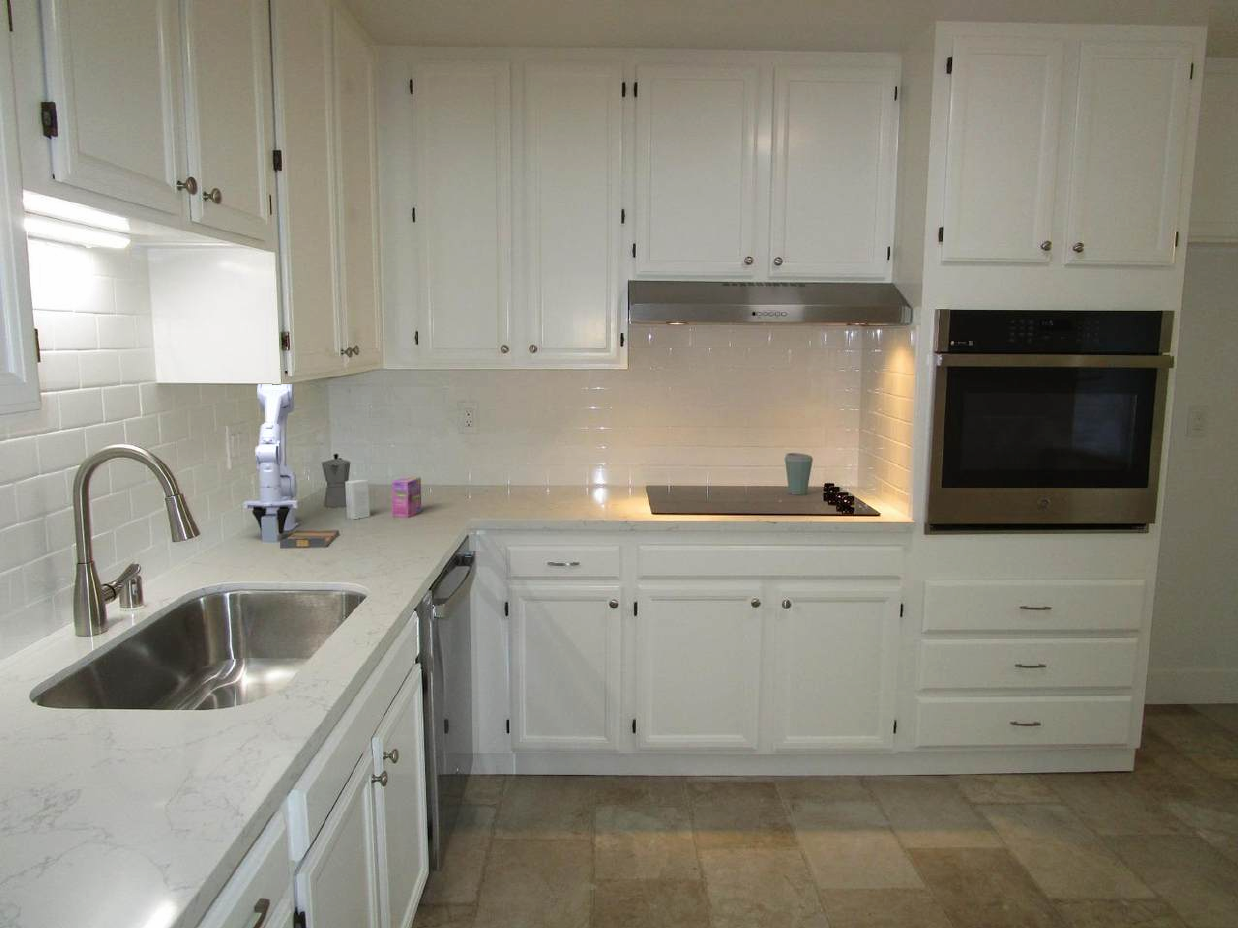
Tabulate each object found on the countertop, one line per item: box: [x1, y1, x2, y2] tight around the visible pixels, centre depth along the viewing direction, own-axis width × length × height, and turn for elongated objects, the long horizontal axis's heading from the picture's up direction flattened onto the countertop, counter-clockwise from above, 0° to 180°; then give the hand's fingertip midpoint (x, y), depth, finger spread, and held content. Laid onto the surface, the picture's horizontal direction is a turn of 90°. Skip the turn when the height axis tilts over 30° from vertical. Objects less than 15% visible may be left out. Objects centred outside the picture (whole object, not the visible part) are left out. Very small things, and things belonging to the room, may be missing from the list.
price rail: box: [279, 538, 327, 549], centre depth 235 cm, size 1×12×2 cm, turn 96°
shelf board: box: [286, 529, 340, 547], centre depth 244 cm, size 16×12×1 cm
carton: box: [261, 513, 284, 543], centre depth 244 cm, size 4×6×7 cm
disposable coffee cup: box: [784, 452, 814, 495], centre depth 324 cm, size 11×11×15 cm
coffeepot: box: [321, 453, 351, 509], centre depth 296 cm, size 15×9×18 cm, turn 8°
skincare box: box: [345, 479, 371, 520], centre depth 275 cm, size 6×4×12 cm
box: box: [391, 476, 422, 519], centre depth 281 cm, size 10×6×12 cm, turn 168°
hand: (272, 533), depth 244 cm, fingers closed on carton, 4 cm apart
